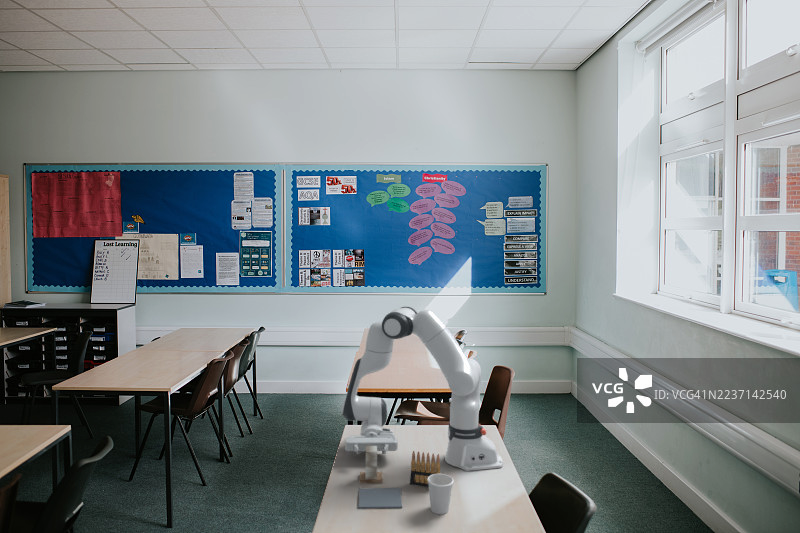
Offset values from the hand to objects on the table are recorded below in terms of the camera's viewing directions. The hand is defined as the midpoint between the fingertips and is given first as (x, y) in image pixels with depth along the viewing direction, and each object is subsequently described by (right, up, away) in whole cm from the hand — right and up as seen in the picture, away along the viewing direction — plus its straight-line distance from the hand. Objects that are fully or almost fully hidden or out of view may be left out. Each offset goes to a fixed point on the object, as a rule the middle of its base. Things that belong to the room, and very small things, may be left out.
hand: (371, 452), depth 193 cm
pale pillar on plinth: (0, -7, -8) cm, 10 cm away
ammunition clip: (+20, -8, -12) cm, 24 cm away
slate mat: (+4, -8, -21) cm, 23 cm away
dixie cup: (+23, -9, -27) cm, 37 cm away
